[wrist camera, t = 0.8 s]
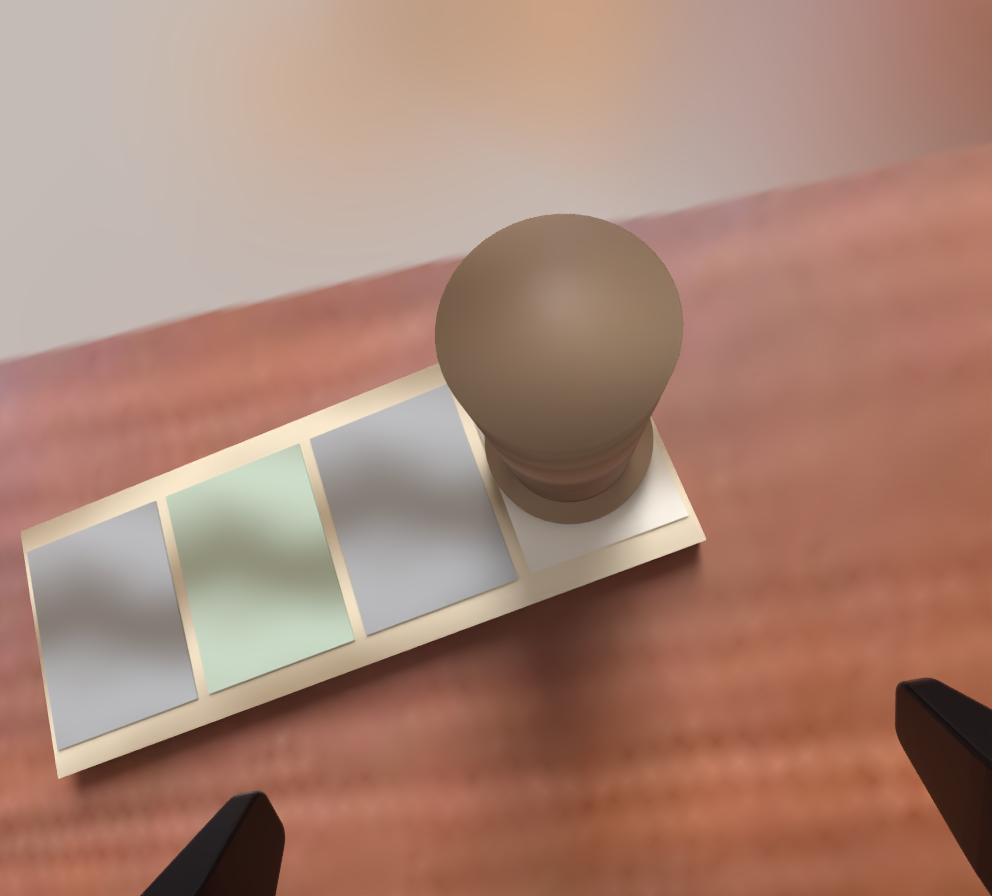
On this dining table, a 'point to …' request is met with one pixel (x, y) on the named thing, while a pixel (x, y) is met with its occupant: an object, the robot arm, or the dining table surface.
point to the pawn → (561, 359)
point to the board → (302, 566)
